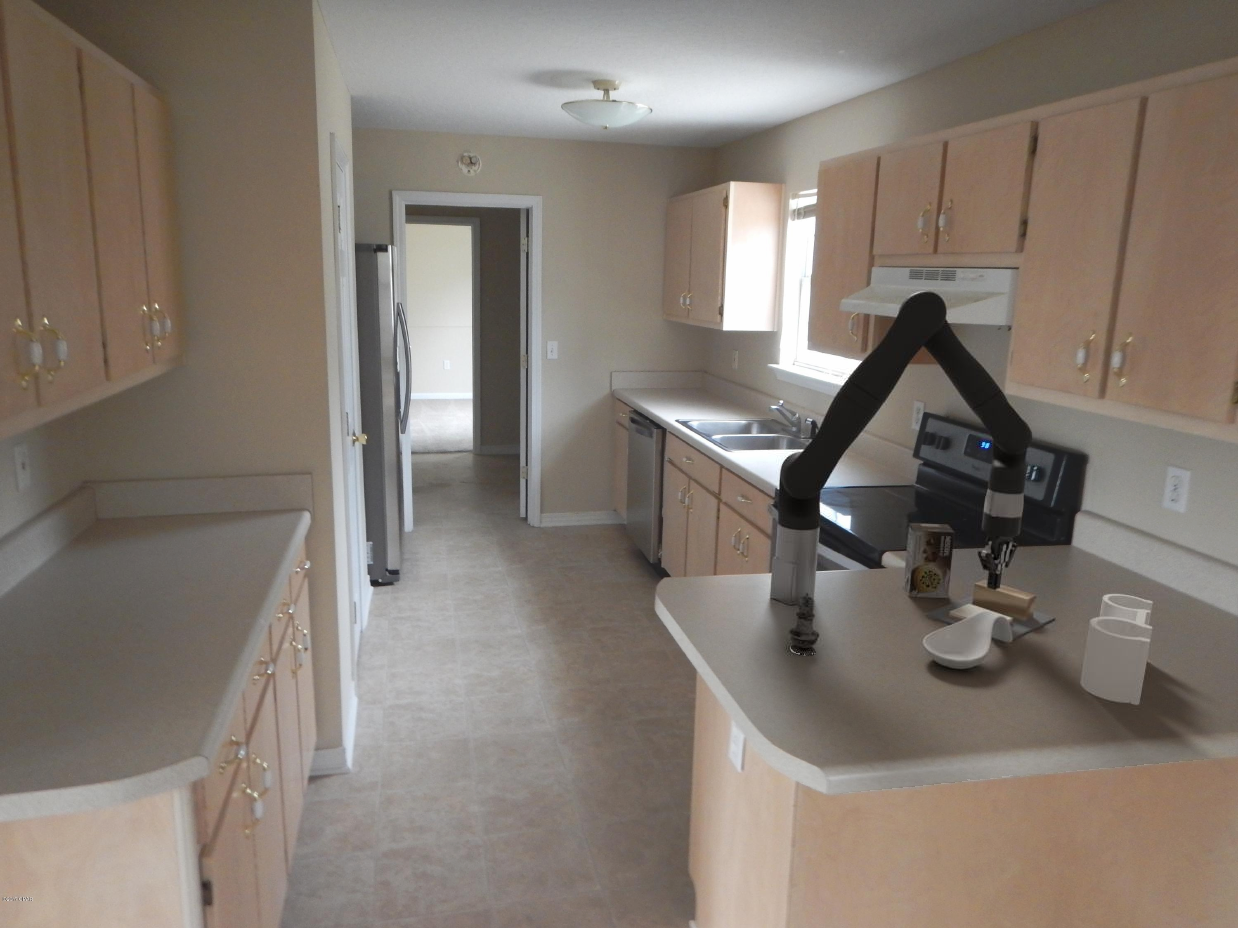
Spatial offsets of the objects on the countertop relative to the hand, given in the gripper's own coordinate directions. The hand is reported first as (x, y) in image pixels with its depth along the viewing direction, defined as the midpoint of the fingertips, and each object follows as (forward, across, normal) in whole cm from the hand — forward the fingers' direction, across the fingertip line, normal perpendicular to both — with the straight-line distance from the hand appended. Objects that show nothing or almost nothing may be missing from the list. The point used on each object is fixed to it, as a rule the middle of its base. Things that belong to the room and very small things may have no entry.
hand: (993, 588), depth 192 cm
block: (+7, -5, 0) cm, 8 cm away
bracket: (+7, +7, +29) cm, 31 cm away
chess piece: (+7, +47, -13) cm, 50 cm away
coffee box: (+7, -2, -17) cm, 18 cm away
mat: (+7, 0, 0) cm, 7 cm away
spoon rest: (+7, +22, +8) cm, 25 cm away
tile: (+6, +4, 0) cm, 7 cm away
